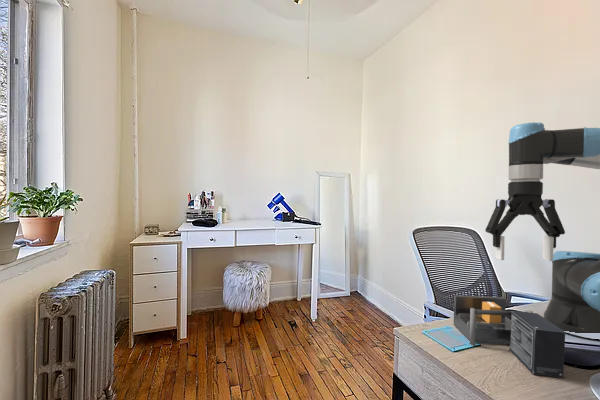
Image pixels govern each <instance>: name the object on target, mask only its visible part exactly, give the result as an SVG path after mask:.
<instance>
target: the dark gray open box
mask: <svg viewBox="0 0 600 400" xmlns="http://www.w3.org/2000/svg"><path fill="white" fill-rule="evenodd" d="M453 297H454V298H453V326H454V327H455V328H456V329H457V330H458V332H460V333H461V334H462V336H463V335H464V336H465V337H466V338H467V339H468V340H469V341H470V308H474V309H479V310H482V302H494V303H495V304H497V305H498V306H500V307H501V311H506V305H507V304H506V302H507V301H506V300H507V299H506V297H503V296H485V295H484V296H483V295H482V296H481V295H458V294H457V295H453ZM510 335H511V318H509V317H508V316H504V315H501V323H493V322H486V321H485V320H484V319H482V314H476V316H475V342H477V343H476V344H488V345H489V344H490V345H505V346H510ZM464 336H463V337H464ZM465 337H464V338H465ZM466 338H465V339H466ZM467 339H466V340H467ZM468 340H467V341H468ZM469 341H468V342H469Z"/></svg>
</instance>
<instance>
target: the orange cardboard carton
mask: <svg viewBox="0 0 600 400" xmlns="http://www.w3.org/2000/svg"><path fill="white" fill-rule="evenodd" d="M482 310H501V307H500V306H498V305H497V304H495V303H494V302H482ZM482 319H484V320H485V321H486V322H493V323H501V315H483V314H482Z"/></svg>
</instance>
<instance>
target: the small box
mask: <svg viewBox="0 0 600 400" xmlns="http://www.w3.org/2000/svg"><path fill="white" fill-rule="evenodd" d="M510 311H511V316H510V320H511V335H510V345H509V351H510V352H511V353H512V355H514V357H516V358H517V359H518V361H519V362H520V363H521V364H522V365H523V366H524V367H526V369H527V370H528V371H529V372H530V373H531V374H532V375H538V376H547V377H552V378H553V377H554V378H559V379H560V378H563V379H564V377H565V376H564V373H565V372H564V370H565V350H566V349H565V346H566V332H564V331H563V330H561V329H560V328H558V327H557V326H555V325H554V324H552V323H551V322H549V321H548V320H546V319H545V318H544V316H542V315H540V314H538V313H535V312H533V313H528V312H527V311H523V312H519V311H520V310H510Z"/></svg>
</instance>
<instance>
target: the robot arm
mask: <svg viewBox="0 0 600 400" xmlns="http://www.w3.org/2000/svg"><path fill="white" fill-rule="evenodd" d="M508 137H509V138H508V180H509V181H510V182H508V184H507V194H508V198H507V199H502V198H501V199H495V208H494V210H493V211H492V214H491V217H490V218H489V221H488V223H487V225H486V228H485V230H484V231H485V232H486V233H488V234H491V235H492V246H493V247H494V248H495V259H498V260H500V261H505V237H506V236H505V235H504V236H503V234H504V232H505V231H506V229H508V227H509V226H510V225H511V224H512V222H513V221H514V220H515V218H517V217H518V216H525V215H528V216H531V217H533V219H534V220H535V221H536V223H538V225H539V226H540V227H541V229H542V231H543V232H544V233H545V235H542V259H543V260H545V261H549V262H551V263H552V267H551V298H550V301H549V303H548V304H547V307H546V309H545V311H543V318H545V319H546V320H548V321H549V322H551V323H552V324H554V325H555V326H557V327H558V328H560V329H561V330H563V331H569V332H575V333H600V253H596V252H595V253H594V252H584V251H583V252H581V251H570V250H567V251H566V250H556V251H554V249H556V247H557V238H560V236H561V235H565V234H566V230H565V229H564V225H563V224H562V221H561V219H560V216H559V214H558V212H557V209H556V202H555V199H549V198H547V199H543V198H542V195H543V192H544V189H543V188H544V183H543V182H542V181H541V180H543V179H544V165H548V164H556V165H561V166H562V165H563V166H573V167H579V168H580V167H581V168H585V169H586V168H588V169H595V170H600V127H585V126H583V127H580V128H579V127H578V128H566V129H555V130H554V129H553V130H551V129H550V130H549V129H546V128H545V125H544V123H542V122H525V123H520V124H516V125H514V126H512V127H511V128H510V130H509V136H508ZM506 207H509V208H508V209H507V211H506V212H505V210H506ZM541 207H543V209H544V211H542V210H541ZM504 212H505V213H506V214H505V215H504ZM503 215H504V216H503ZM545 215H546V216H545Z"/></svg>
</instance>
